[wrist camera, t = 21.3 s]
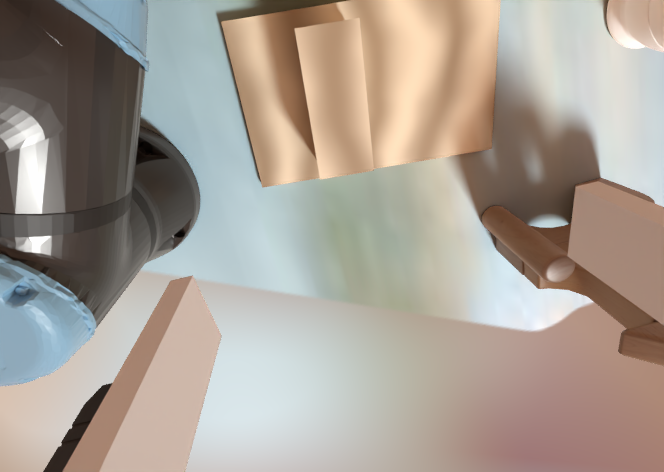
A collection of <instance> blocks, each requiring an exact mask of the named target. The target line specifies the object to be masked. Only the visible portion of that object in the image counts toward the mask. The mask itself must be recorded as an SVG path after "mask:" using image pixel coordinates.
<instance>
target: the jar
mask: <svg viewBox="0 0 664 472" xmlns="http://www.w3.org/2000/svg"><path fill="white" fill-rule="evenodd" d="M607 25H608V29H609V32H610V34H611V36H612V37H613V39H614V40H615V41H616V42H617V43H619V44H620V45H622V46H624V47H627V48H643V47H648V48H651V49H653V50H657V51H661V52H664V0H609V1H608V7H607Z"/></svg>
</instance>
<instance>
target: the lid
mask: <svg viewBox="0 0 664 472" xmlns="http://www.w3.org/2000/svg"><path fill="white" fill-rule="evenodd" d="M499 16H500V0H349V1H343V2H337V3H331V4H325V5H319V6H313V7H307V8H301V9H295V10H289V11H283V12H277V13H270V14H264V15H258V16H252V17H246V18H240V19H234V20H228V21H222V22H221V23H222V27H223V31H224V36H225V40H226V44H227V48H228V52H229V56H230V60H231V64H232V68H233V72H234V76H235V80H236V84H237V88H238V92H239V96H240V100H241V104H242V108H243V112H244V116H245V120H246V124H247V128H248V132H249V136H250V140H251V144H252V148H253V152H254V156H255V160H256V164H257V168H258V172H259V176H260V180H261V184H262V187H268V186H274V185H280V184H286V183H292V182H298V181H304V180H310V179H316V178H320V179H326V178H332V177H338V176H344V175H350V174H356V173H362V172H368V171H374V169H375V168H381V167H387V166H393V165H399V164H405V163H411V162H417V161H423V160H429V159H435V158H441V157H447V156H453V155H459V154H465V153H471V152H477V151H483V150H489V149H492V133H493V116H494V99H495V83H496V66H497V49H498V32H499Z"/></svg>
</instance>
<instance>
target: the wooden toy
mask: <svg viewBox="0 0 664 472" xmlns="http://www.w3.org/2000/svg"><path fill="white" fill-rule="evenodd" d="M597 181H599V182H601V183H604V184H606V185H609V186H611V187H614V188H617V189H619V190H622V191H624V192H627V193H629V194H632V195H634V196H637V197H639V198H642V199H644V200H647V201H649V202H652V203H654V204H655V202H654V200H653V199H651V198H650V197H649V196H647V195H645V194H643V193H640V192H638V191H635V190H632V189H630V188H627V187H624V186H622V185H619V184H616V183H614V182H611V181H608V180H606V179H603V178H598V179H595V180H591V181H587V182H584V183H580V184H577V185H575V188H576V186H580V185H584V184H589V183H593V182H597ZM482 224H483V225H484V227H485V228H487V229H488V230H489V231H490V232H491V233H492V234H493V235H494V236H495V237H496V249H497V251H498V252H499V253H500V254H501V255H503V256H504V257H505V258H506V259H507V260H508V261H509V262H510V263H511V264H512V265H513V266H514V267H515V268H516V269H517V270H518V271H519V272H520V273H521V274H522V275H525V277H526V278H527V279H529V280H530V281H531V282H532V283H533V284H534V285H535V286H536V287H537V288H538V289H545V288H551V289H564V290H570V291H573V292H576V293H579V294H582V295H584V296H587V297H589V298H590V299H591V300H592V301H594V302H595V303H596V304H597V305H598V306H600V307H601V308H602V309H603V310H605V311H606V312H607V313H608V314H610V315H611V316H612V317H613V318H614V319H616V320H617V321H618V322H619V323H620V324H622V325H623V326H624V327H625V328H627V329H626V330H624V331H623V332H622V333H621V338H620V344H619V350H618V351H619V353H620V354H622V355H624V356H628V357H632V358H636V359H639V360H643V361H647V362H651V363H655V364H658V365H662V366H664V325H662V324H661V323H660V322H658V321H657V320H655V319H654V318H653V317H651V316H650V315H648V314H647V313H646V312H644V311H643V310H642V309H640V308H639V307H637V306H636V305H635V304H633V303H632V302H630V301H629V300H628V299H626V298H625V297H623V296H622V295H621V294H619V293H618V292H616V291H615V290H614V289H612V288H611V287H610V286H608V285H607V284H605V283H604V282H603V281H601V280H600V279H598V278H597V277H596V276H594V275H593V274H591V273H590V272H589V271H587V270H586V269H584V268H583V267H582V266H580V265H579V264H578V263H576V262H575V261H573V260H572V259H571V258H569V257H568V256H567V255H568V247H569V238H570V230H571V223H570V224H568V225H565V226H560V227H555V228H539V227H534V226H529V225H527V224H526V223H525V222H523V221H522V220H520V219H519V218H518V217H516V216H515V215H513V214H512V213H511V212H509V211H508V210H506V209H505V208H503V207H502V206H492V207H489V208H488V209H487V210H485V212H484V213H483V215H482Z"/></svg>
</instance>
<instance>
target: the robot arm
mask: <svg viewBox="0 0 664 472" xmlns="http://www.w3.org/2000/svg"><path fill="white" fill-rule="evenodd" d="M147 21H148V6H147V1H146V0H0V386H9V385H17V384H23V383H27V382H30V381H33V380H35V379H37V378H39V377H42V376H46V375H49V374H51V373H53V372H54V371H56V370H57V369H59V368H60V367H61V366H63V365H64V364H65V363H66V362H67V361H68V360H69V359H70V358H71V356H73V355H74V354H75V352H76V351H77V350H78V349H79V348H80V347H81V346H82V345H83V344H85V343H86V342H87V341H89V340H90V338H91V337H92V336H93V335H94V332H95V329H96V328H97V326H98V325H99V324H100V322H101V321H102V320H103V318H104V317H105V316H106V314H107V313H108V312H109V310H110V309H111V308H112V306H113V305H114V304H115V302H116V301H117V300H118V298H119V297H120V296H121V295H122V293H123V292H124V291H125V289H126V288H127V287H128V285H129V284H130V283H131V281H132V280H133V279H134V277H135V276H136V275H137V273H138V272H139V271H140V269H141V268H142V267H143V265H144V264H145V263H147V262H149V261H151V260H153V259H156V258H158V257H160V256H162V255H164V254H167V253H168V252H170V251H172V250H173V249H174V248H176V247H177V246H178V245H179V244H180V243H181V242H182V241H183V240H184V239H185V238H186V237H187V235H188V234H189V232H190V231H191V229H192V228H193V226H194V224H195V222H196V220H197V217H198V214H199V209H200V192H199V187H198V183H197V180H196V178H195V175H194V173H193V171H192V169H191V167H190V166H189V164H188V163H187V161H186V160H185V158H184V157H183V156H182V155H181V154H180V152H179V151H178V150H177V149H176V148H175V147H174V146H172V145H171V144H170V143H169V142H168V141H166V140H165V139H163V138H162V137H161V136H159V135H157V134H156V133H154V132H152V131H150V130H148V129H145V128H143V127H140V117H141V107H142V98H143V88H144V78H145V71H148V70H149V62H148V60H147V59H146V41H147ZM567 256H568V257H569V258H571V259H572V260H573V261H575V262H576V263H578V264H579V265H580V266H582V267H583V268H584V269H586V270H587V271H589V272H590V273H591V274H593V275H594V276H596V277H597V278H598V279H600V280H601V281H603V282H604V283H605V284H607V285H608V286H610V287H611V288H612V289H614V290H615V291H616V292H618V293H619V294H621V295H622V296H623V297H625V298H626V299H628V300H629V301H630V302H632V303H633V304H635V305H636V306H637V307H639V308H640V309H642V310H643V311H644V312H646V313H647V314H648V315H650V316H651V317H653V318H654V319H655V320H657V321H658V322H660V323H661V324H662V325H664V207H662V206H659V205H657V204H654V203H652V202H649V201H647V200H644V199H642V198H639V197H637V196H634V195H632V194H629V193H627V192H624V191H622V190H619V189H617V188H614V187H611V186H609V185H606V184H604V183H601V182H599V181H597V182H593V183H589V184H584V185H580V186H576V188H575V196H574V205H573V213H572V221H571V230H570V238H569V247H568V255H567ZM220 340H221V334H220V332H219V329H218V327H217V325H216V323H215V321H214V319H213V317H212V315H211V313H210V311H209V309H208V307H207V304H206V302H205V300H204V298H203V296H202V294H201V292H200V290H199V288H198V286H197V283H196V281H195V279H194V277H193V276H189V277H185V278H180V279H176V280H172V281H170V283H169V285H168V287H167V288H166V290H165V292H164V294H163V295H162V297H161V299H160V301H159V303H158V304H157V306H156V308H155V310H154V311H153V313H152V315H151V317H150V318H149V320H148V322H147V324H146V325H145V327H144V329H143V331H142V332H141V334H140V336H139V338H138V339H137V341H136V343H135V345H134V347H133V348H132V350H131V352H130V354H129V355H128V357H127V359H126V361H125V362H124V364H123V366H122V368H121V369H120V371H119V373H118V375H117V377H116V378H115V380H114V382H113V383H111V384H106V385H103V386H102V387H101V388H100V389H99V390H98V391H97V392H96V393H95V394H94V395H93V396H92V397H91V398H90V399H89V400H88V401H87V402H86V404H85V405H84V406H83V408H82V409H81V411H80V413H79V415H78V416H77V418H76V419H75V421H74V422H73V424H72V429H69V431H68V432H67V434H66V436H65V437H64V439H63V440H62V442H61V443H62V445H61V446H60V447H58V449H57V450H56V452H55V453H54V455H53V457H52V458H51V460H50V462H49V463H48V465H47V467H46V468H45V470H44V471H43V472H185V470H186V466H187V463H188V459H189V455H190V451H191V448H192V444H193V440H194V436H195V433H196V429H197V425H198V422H199V418H200V414H201V410H202V407H203V403H204V399H205V395H206V392H207V388H208V384H209V381H210V377H211V373H212V369H213V365H214V362H215V358H216V355H217V350H218V347H219V344H220Z"/></svg>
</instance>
